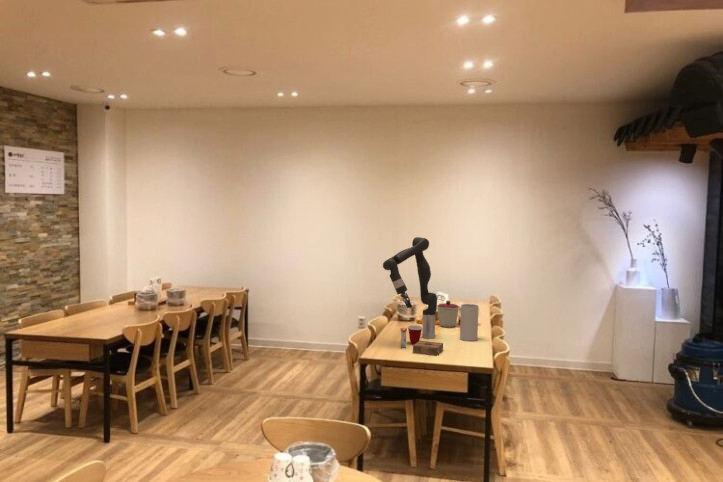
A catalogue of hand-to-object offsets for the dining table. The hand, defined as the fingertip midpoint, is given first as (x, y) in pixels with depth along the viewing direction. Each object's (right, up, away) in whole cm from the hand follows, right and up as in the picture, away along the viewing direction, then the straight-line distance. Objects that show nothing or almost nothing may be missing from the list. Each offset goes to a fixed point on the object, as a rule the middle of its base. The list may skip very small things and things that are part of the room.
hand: (409, 307), depth 393 cm
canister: (+37, -24, +72) cm, 84 cm away
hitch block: (+11, -27, -15) cm, 33 cm away
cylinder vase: (+45, -26, +25) cm, 58 cm away
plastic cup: (+4, -26, +8) cm, 28 cm away
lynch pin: (-5, -27, -6) cm, 28 cm away
